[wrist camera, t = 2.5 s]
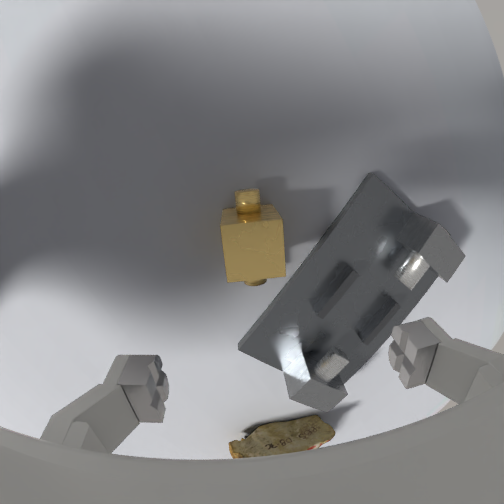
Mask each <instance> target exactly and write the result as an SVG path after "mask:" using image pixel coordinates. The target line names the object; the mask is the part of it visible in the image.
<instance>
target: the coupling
mask: <svg viewBox="0 0 504 504" xmlns="http://www.w3.org/2000/svg"><path fill="white" fill-rule="evenodd" d="M235 201H236V208H228V209H223V212H222V218H221V224H220V228H221V236H222V244H223V252H224V260H225V268H226V275H227V283H229V282H239V281H244V283H245V284H246V285H249V286H258V285H262V284H264V283H265V282H266V281H267V278H276V277H285V276H286V270H285V251H284V234H283V219H282V218H281V216H280V215H279V213H278V212H277V211H276V209H275V208H274V206H273V205H272V204H268V205H260V193H259V189H244V190H238V191H235Z"/></svg>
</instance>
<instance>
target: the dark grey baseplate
mask: <svg viewBox="0 0 504 504" xmlns="http://www.w3.org/2000/svg"><path fill="white" fill-rule="evenodd" d="M464 258H465V254H464V253H463V252H462V251H461V249H460V248H459V247H458V246H457V244H456V243H455V242H454V241H453V240H452V238H451V237H450V234H449V233H448V231H447V230H446V229H445V228H443V227H442V226H441V225H440V224H439V223H437V222H435V221H432V220H430V219H428V218H425V217H423V216H421V215H419V214H416V213H414V212H413V211H412V210H411V209H410V208H409V207H408V206H407V205H406V204H405V203H404V202H403V201H402V200H401V199H400V198H399V197H398V196H397V195H396V194H395V193H394V192H393V191H391V190H390V189H389V188H388V187H387V186H386V185H385V184H384V183H383V182H382V181H381V180H380V179H379V178H378V177H376V176H375V175H374V174H371V173H368V175H367V176H366V178H365V179H364V181H363V182H362V183H361V185H360V186H359V188H358V189H357V190H356V192H355V193H354V195H353V196H352V197H351V199H350V200H349V202H348V203H347V204H346V206H345V207H344V208H343V210H342V211H341V213H340V214H339V215H338V217H337V218H336V219H335V221H334V222H333V223H332V225H331V226H330V227H329V229H328V230H327V231H326V233H325V234H324V235H323V237H322V238H321V239H320V241H319V242H318V243H317V245H316V246H315V247H314V249H313V250H312V251H311V253H310V254H309V255H308V257H307V258H306V259H305V261H304V262H303V263H302V264H301V266H300V267H299V268H298V270H297V271H296V272H295V273H294V275H293V276H292V277H291V279H290V280H289V281H288V282H287V284H286V285H285V286H284V288H283V289H282V290H281V291H280V293H279V294H278V295H277V296H276V298H275V299H274V300H273V301H272V303H271V304H270V305H269V306H268V308H267V309H266V310H265V311H264V313H263V314H262V315H261V316H260V318H259V319H258V320H257V321H256V322H255V324H254V325H253V326H252V327H251V329H250V330H249V331H248V332H247V333H246V335H245V336H244V337H243V338H242V339H241V341H240V342H239V343H238V350H239V351H241V352H243V353H245V354H247V355H250V356H252V357H254V358H256V359H258V360H260V361H262V362H264V363H266V364H268V365H270V366H272V367H275V368H277V369H279V370H281V371H283V372H284V376H285V381H286V385H287V390H288V394H289V399H291V400H294V401H296V402H299V403H302V404H304V405H307V406H310V407H312V408H315V409H318V410H321V411H324V412H327V413H328V412H329V411H330V410H331V409H332V408H333V407H335V406H336V405H337V404H338V403H339V402H340V401H341V400H342V399H343V398H345V397H346V396H347V395H348V393H347V391H346V389H345V386H344V383H345V382H347V381H348V380H349V379H350V378H351V377H352V376H353V375H354V374H355V373H356V372H357V371H358V370H359V369H360V368H361V367H362V366H363V365H364V364H365V363H366V361H367V360H368V359H369V358H370V357H371V356H372V355H373V354H374V353H375V352H376V351H377V350H378V349H379V348H380V347H381V345H382V344H383V343H384V342H385V341H386V340H387V339H388V338H389V337H390V335H391V334H392V330H393V328H394V326H396V325H400V324H401V323H402V322H403V320H404V319H405V318H406V317H407V316H408V314H409V313H410V312H411V311H412V309H413V308H414V307H415V306H416V305H417V303H418V302H419V301H420V299H421V298H422V297H423V296H424V294H425V293H426V292H427V290H428V289H429V288H430V286H431V285H432V284H433V282H434V281H435V280H436V278H437V277H438V276H439V277H440V278H442V279H443V280H444V281H446V282H448V281H449V279H450V278H451V277H452V275H453V274H454V272H455V271H456V269H457V268H458V267H459V265H460V264H461V262H462V261H463V259H464Z"/></svg>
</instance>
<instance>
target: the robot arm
mask: <svg viewBox="0 0 504 504" xmlns="http://www.w3.org/2000/svg"><path fill="white" fill-rule="evenodd" d="M391 336H392V337H393V339H394V340H393V342H392V343H391V344H390V346H389V352H388V355H389V361H390V364H391V366H392V368H393V369H394V370H395V371H398V372H400V374H399V379H400V380H401V382H402V384H403V385H404V387H405V388H406V389H409V388H412V387H416V386H419V385H422V384H426V385H427V386H429V387H431V388H432V389H434V390H436V391H437V392H439V393H441V394H442V395H444V396H446V397H448V398H449V399H451V400H453V401H454V402H456V403H458V404H459V405H456V406H454V407H452V408H450V409H447V410H445V411H443V412H440V413H438V414H435V415H433V416H430V417H427V418H425V419H422V420H419V421H417V422H414V423H411V424H408V425H405V426H402V427H399V428H396V429H393V430H390V431H387V432H383V433H380V434H377V435H373V436H369V437H366V438H362V439H358V440H354V441H350V442H346V443H341V444H337V445H332V446H328V447H323V448H317V449H312V450H306V451H300V452H293V453H286V454H279V455H271V456H261V457H250V458H236V459H210V460H185V459H159V458H145V457H134V456H125V455H117V454H111V453H112V452H113V451H114V450H115V449H116V448H117V447H118V446H119V445H120V444H121V443H122V441H123V440H124V439H125V438H126V437H127V436H128V435H129V434H130V433H131V432H132V431H133V430H134V429H135V428H136V427H137V426H138V425H139V424H140V423H139V422H150V423H163V418H164V414H165V409H166V408H165V406H164V402H165V401H166V400H167V399H168V394H169V384H168V379H167V376H166V374H165V373H164V372H163V371H162V370H161V368H162V361H161V359H160V356H158V355H118V356H116V357H115V359H114V361H113V363H112V366H111V368H110V370H109V372H108V374H107V376H106V378H105V380H104V382H103V384H98V385H97V386H95V387H94V388H92V389H91V390H89V391H88V392H86V393H85V394H83V395H82V396H80V397H79V398H78V399H76V400H75V401H73V402H72V403H70V404H69V405H67V406H66V407H64V408H63V409H61V410H59V411H58V412H56V413H55V414H53V415H52V416H51V418H50V420H49V422H48V424H47V426H46V428H45V430H44V432H43V434H42V436H41V438H40V439H38V438H34V437H31V436H28V435H24V434H21V433H18V432H15V431H12V430H9V429H6V428H3V427H1V426H0V504H504V354H501V353H497V352H494V351H492V350H489V349H486V348H483V347H480V346H477V345H474V344H471V343H468V342H465V341H462V340H459V339H457V338H455V339H452V338H451V337H450V336H449V335H448V334H447V333H446V332H445V331H444V330H443V329H442V328H441V327H440V326H439V325H438V324H437V323H436V322H435V321H434V320H433V319H432V318H430V317H427V318H423V319H420V320H417V321H414V322H409V323H405V324H401V325H396V326H394V328H393V330H392V335H391Z"/></svg>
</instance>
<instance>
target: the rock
mask: <svg viewBox="0 0 504 504" xmlns="http://www.w3.org/2000/svg"><path fill="white" fill-rule="evenodd" d="M334 435H335V431H334V430H333V428H332V427H331V426H330V425H329V424H326V423H324V422H323V421H322V420H321V418H320V417H318V415H313V416H308V417H303V418H300V419H297V420H291V421H288V422H273V423H269V424H265V425H262V426H259V427H258V428H257V429H256V430H255V431H254V432H253V433H252V434H251V435H249V436H248V437H247V438H246V439H243V438H242V439H241V441H238V440H234V441H232V442H229V450H230V453H231V456H232V457H233V459H236V458H250V457H261V456H271V455H279V454H286V453H293V452H300V451H306V450H312V449H317V448H319V447H320V446H321V445H323V444H324V443H326V442H329V441H330V440H331V439H332V438H333V437H334Z"/></svg>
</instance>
